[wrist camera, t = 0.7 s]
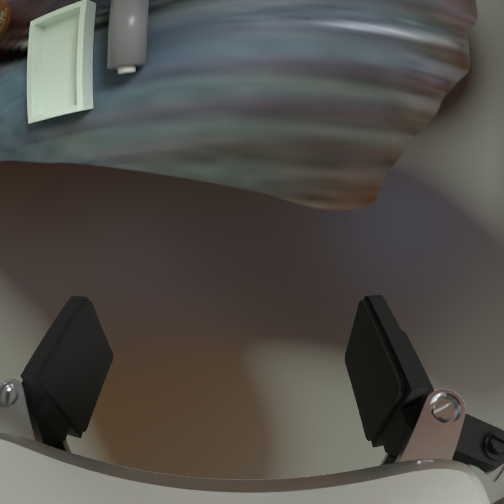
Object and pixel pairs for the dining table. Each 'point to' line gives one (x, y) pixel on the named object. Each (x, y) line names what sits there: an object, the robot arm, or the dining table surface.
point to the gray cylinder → (127, 35)
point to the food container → (4, 16)
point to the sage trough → (61, 62)
